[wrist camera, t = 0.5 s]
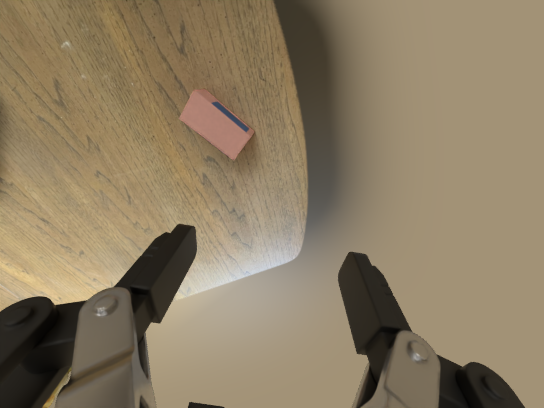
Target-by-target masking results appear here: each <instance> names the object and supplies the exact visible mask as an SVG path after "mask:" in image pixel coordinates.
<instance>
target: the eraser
mask: <svg viewBox="0 0 544 408" xmlns="http://www.w3.org/2000/svg"><path fill="white" fill-rule="evenodd" d="M179 119H180V120H181V121H183V122H184V123H185V124H187V125H188V126H189V127H191V128H192V129H193V130H194V131H195V132H197V133H198V134H199V135H201V136H202V137H203V138H205V139H206V140H207V141H208V142H210V143H211V144H212V145H214V146H215V147H216V148H218V149H219V150H220V151H221V152H223V153H224V154H225V155H227V156H228V157H230V158H231V159H232V160H234V159H235V158H236V157H237V155H238V154H239V153H240V151H241V150H242V149H243V147H244V146H245V145H246V143H247V142H248V141H249V139H250V138H251V137H252V135H253V134H254V132H255V131H254V130H253V129H251V128H250V127H249V126H248V125H247V124H246V123H244V122H243V121H242V120H241V119H240V118H239V117H237V116H236V115H235V114H234V113H233V112H231V111H230V110H229V109H228V108H227V107H226V106H224V105H223V104H222V103H221V102H220V101H219V100H217V99H216V98H215V97H214V96H213V95H212V94H210V93H209V92H208V91H207V90H206V89H194V90H193V92H192V94H191V96H190V98H189V100H188V102H187V104H186V106H185V108H184V110H183V112H182V114H181V115H180V117H179Z"/></svg>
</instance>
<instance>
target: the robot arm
mask: <svg viewBox="0 0 544 408" xmlns="http://www.w3.org/2000/svg"><path fill="white" fill-rule="evenodd" d="M196 252H197V242H196V229H195V227H194V226H190V225H184V224H178V225H177V226H176V227H175V228H174V230H173V231H172V232H171V233H167V232H165V233H164V234H162V235H161V236H159V237H157V238H156V239H155V240H154V241H153V242H152V243H151V244H150V246H149V247H148V249H146V250H145V251H144V253H143V254H142V256H140V257H139V258H138V260H137V261H136V262H135V263H134V264H133V265H132V267H131V268H130V269H129V270H128V271H127V273H126V274H125V275H124V276H123V277H122V278H121V280H120V281H119V282H118V283H117V284H116V285H115V286H114V287H113V288H108V289H105V290H102V291H100V292H98V293H97V294H95V295H93V296H92V297H91V298H90V299H88V300H86V301H80V302H73V303H66V304H60V305H54V303H53V302H52V301H51V300H50V299H49V298H47V297H40V296H38V297H31V298H27V299H24V300H21V301H19V302H16V303H14V304H12V305H10V306H9V307H7V308H5V309H4V310H2V311H1V312H0V408H42V407H43V406H44V404H45V403H46V401H47V400H48V399H49V397H50V396H51V394H52V393H53V392H54V390H55V389H56V387H57V386H58V385H59V383H60V382H61V380H62V379H63V378H64V376H65V375H66V373H67V372H68V370H69V369H70V368H71V366H72V369H71V376H70V380H69V382H68V384H66V385H64V386H63V387H62V388H61V390H60V391H59V394H58V396H57V400H56V404H55V408H156V401H155V396H154V392H153V388H152V382H151V375H150V367H149V358H148V350H147V342H146V333H145V332H146V330H147V328H148V326H149V325H150V323H151V322H153V323H160V322H161V321H162V319H163V317H164V315H165V313H166V311H167V310H168V308H169V306H170V304H171V302H172V300H173V298H174V296H175V294H176V293H177V291H178V289H179V287H180V285H181V283H182V281H183V279H184V278H185V276H186V274H187V272H188V270H189V268H190V266H191V264H192V263H193V261H194V259H195V256H196ZM338 282H339V287H340V290H341V294H342V298H343V301H344V306H345V309H346V314H347V317H348V321H349V325H350V329H351V333H352V336H353V340H354V344H355V348H356V352H357V354H362V355H367V357H368V360H369V363H368V364H367V366H366V368H365V371H364V374H363V377H362V380H361V383H360V385H359V388H358V392H357V394H356V397H355V400H354V403H353V406H352V408H525V407H524V406H523V404H522V403H521V401H520V400H519V399H518V397H517V396H516V394H515V393H514V391H513V390H512V389H511V388H510V386H509V385H508V384H507V383H506V382H505V381H504V380H503V379H502V378H501V377H500V376H499V375H498V374H496V373H495V372H494V371H492V370H491V369H489V368H488V367H486V366H484V365H482V364H480V363H476V362H470V363H468V364H467V365H465V366H463V367H462V366H460V365H458V364H456V363H454V362H451V361H449V360H447V359H445V358H443V357H441V356H439V355H437V354H436V353H435V352H434V350H433V349H432V348H431V346H430V345H429V344H428V343H427V342H426V341H425V340H424V339H423V338H421V337H420V336H418V335H417V334H415V333H413V332H412V330H411V329H410V327H409V325H408V323H407V321H406V319H405V317H404V315H403V313H402V311H401V309H400V307H399V305H398V303H397V301H396V299H395V297H394V296H393V293H392V291H391V289H390V287H388V283H387V281H386V279H385V278H384V275H383V274H382V273H381V272H380V271H379V270H378V269H377V268H376V267H375V266H372V265H371V263H370V261H369V259H368V257H367V255H366V254H362V253H355V252H349V253H348V255H347V256H346V259H345V260H344V262H343V264H342V267H341V268H340V270H339V274H338ZM188 408H224V407H221V406H214V405H207V404H200V403H193V402H189V406H188Z"/></svg>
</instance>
